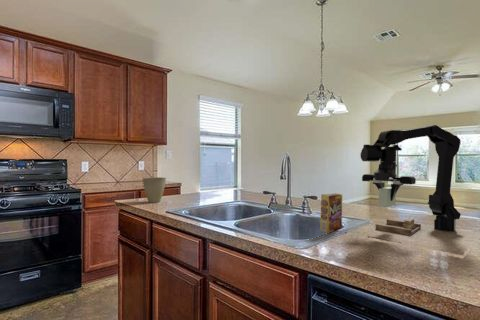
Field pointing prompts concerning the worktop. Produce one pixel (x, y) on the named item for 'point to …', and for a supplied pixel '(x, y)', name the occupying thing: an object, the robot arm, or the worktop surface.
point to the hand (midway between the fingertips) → (387, 200)
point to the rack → (397, 227)
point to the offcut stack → (409, 224)
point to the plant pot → (154, 188)
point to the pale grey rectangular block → (386, 197)
